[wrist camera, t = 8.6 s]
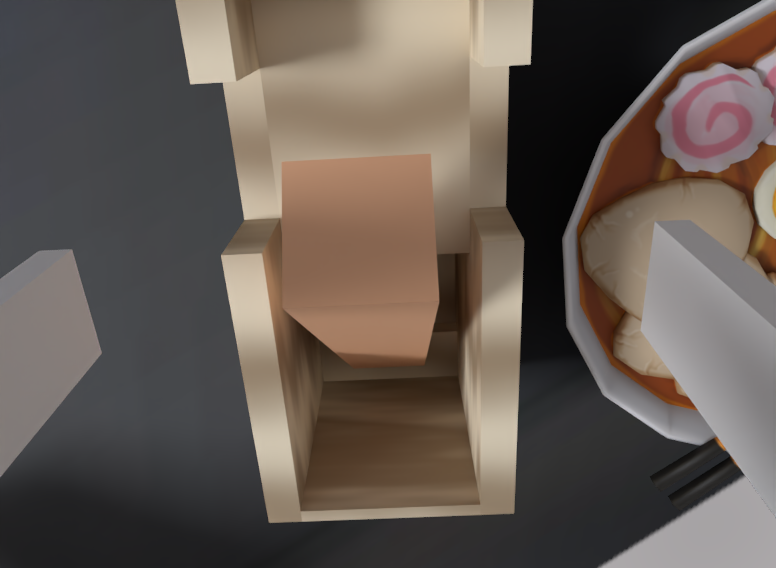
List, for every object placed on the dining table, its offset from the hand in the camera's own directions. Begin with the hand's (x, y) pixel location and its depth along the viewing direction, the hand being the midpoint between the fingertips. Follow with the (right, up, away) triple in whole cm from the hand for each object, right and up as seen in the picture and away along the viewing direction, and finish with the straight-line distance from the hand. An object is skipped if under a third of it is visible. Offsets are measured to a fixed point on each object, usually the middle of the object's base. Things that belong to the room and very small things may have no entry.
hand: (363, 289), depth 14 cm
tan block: (0, +1, +12) cm, 12 cm away
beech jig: (0, +6, +20) cm, 20 cm away
